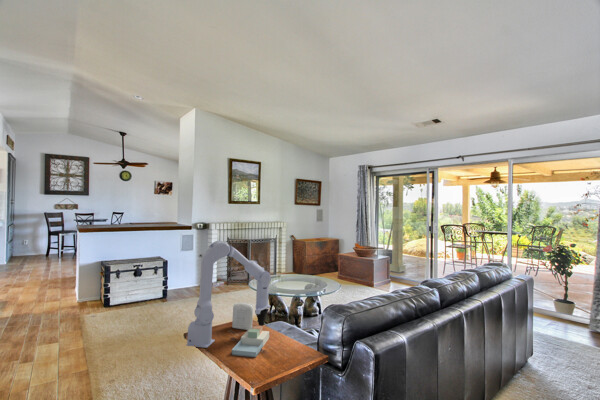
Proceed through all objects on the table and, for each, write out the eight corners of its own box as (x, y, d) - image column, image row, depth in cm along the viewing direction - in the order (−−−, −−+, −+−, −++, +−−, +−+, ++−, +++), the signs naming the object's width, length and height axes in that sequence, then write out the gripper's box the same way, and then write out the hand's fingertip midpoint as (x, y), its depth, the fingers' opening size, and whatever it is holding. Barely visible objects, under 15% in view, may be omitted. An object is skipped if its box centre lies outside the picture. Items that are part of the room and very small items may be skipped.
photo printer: (253, 328, 155) (254, 302, 156) (250, 331, 151) (251, 304, 152) (234, 325, 158) (235, 300, 159) (230, 328, 154) (231, 302, 155)
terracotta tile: (251, 333, 140) (251, 328, 140) (253, 330, 144) (254, 325, 144) (259, 334, 139) (260, 328, 139) (262, 331, 143) (262, 325, 143)
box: (231, 354, 125) (231, 349, 125) (240, 344, 135) (240, 340, 135) (255, 357, 123) (255, 352, 123) (262, 347, 133) (263, 342, 133)
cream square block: (240, 344, 135) (240, 337, 135) (248, 335, 145) (248, 329, 145) (263, 346, 133) (263, 339, 134) (269, 337, 143) (269, 331, 143)
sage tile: (247, 337, 135) (248, 331, 135) (250, 334, 139) (251, 328, 139) (256, 338, 134) (257, 332, 135) (259, 335, 138) (259, 329, 139)
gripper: (266, 300, 141) (265, 331, 140) (274, 293, 155) (273, 320, 155) (251, 299, 142) (250, 329, 142) (260, 292, 157) (259, 319, 156)
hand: (261, 325), depth 148 cm, fingers closed
